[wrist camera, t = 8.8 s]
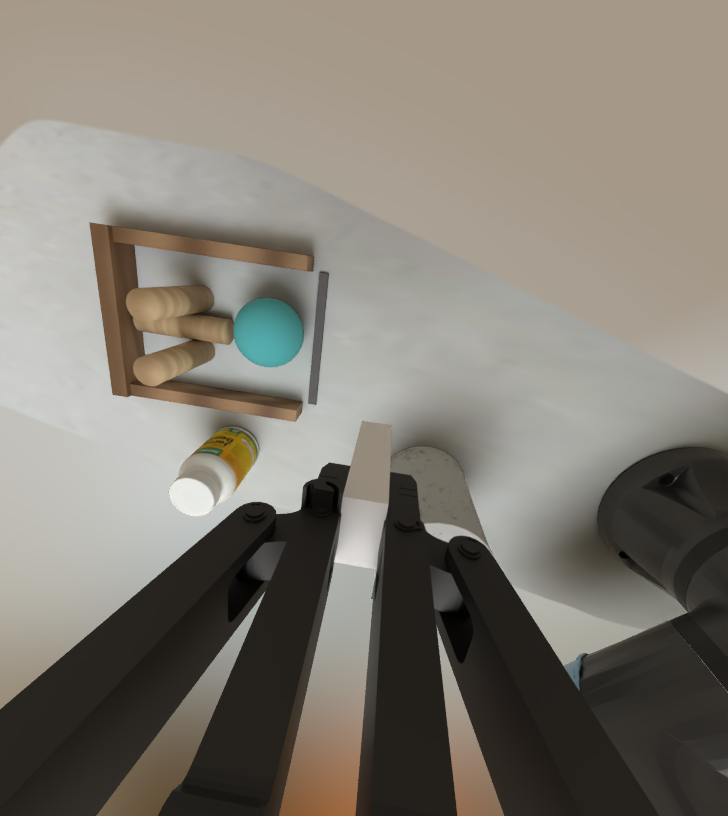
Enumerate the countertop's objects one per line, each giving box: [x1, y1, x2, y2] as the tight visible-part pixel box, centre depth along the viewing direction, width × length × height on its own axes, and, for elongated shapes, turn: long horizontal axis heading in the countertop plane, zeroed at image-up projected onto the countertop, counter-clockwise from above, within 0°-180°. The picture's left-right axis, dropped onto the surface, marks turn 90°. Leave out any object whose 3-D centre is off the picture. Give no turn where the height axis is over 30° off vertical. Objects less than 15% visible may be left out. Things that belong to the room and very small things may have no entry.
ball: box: [233, 298, 304, 367], centre depth 31 cm, size 6×6×6 cm
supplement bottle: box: [169, 426, 259, 516], centre depth 34 cm, size 5×5×10 cm
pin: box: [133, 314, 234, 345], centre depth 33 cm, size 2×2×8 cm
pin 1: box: [126, 285, 214, 322], centre depth 29 cm, size 2×2×8 cm
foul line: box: [308, 273, 329, 405], centre depth 34 cm, size 1×13×1 cm, turn 172°
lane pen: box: [89, 222, 314, 422], centre depth 32 cm, size 18×15×3 cm
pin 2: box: [133, 340, 215, 386], centre depth 31 cm, size 2×2×8 cm
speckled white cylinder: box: [373, 446, 494, 578], centre depth 33 cm, size 10×10×12 cm
